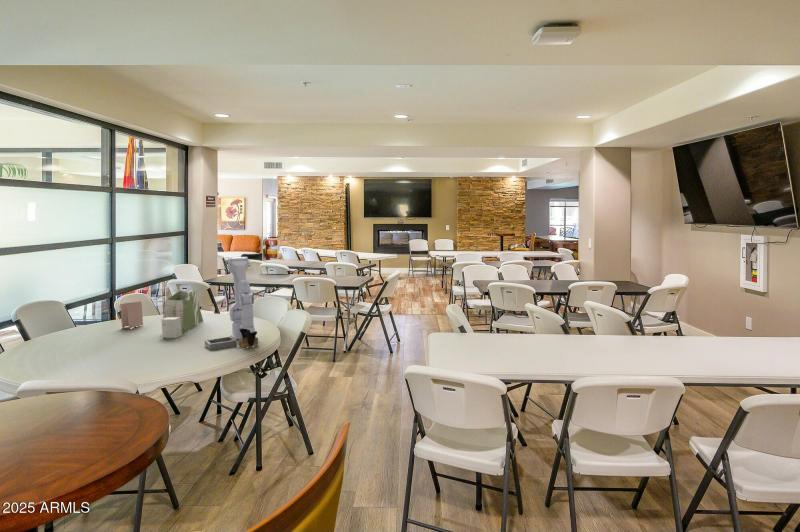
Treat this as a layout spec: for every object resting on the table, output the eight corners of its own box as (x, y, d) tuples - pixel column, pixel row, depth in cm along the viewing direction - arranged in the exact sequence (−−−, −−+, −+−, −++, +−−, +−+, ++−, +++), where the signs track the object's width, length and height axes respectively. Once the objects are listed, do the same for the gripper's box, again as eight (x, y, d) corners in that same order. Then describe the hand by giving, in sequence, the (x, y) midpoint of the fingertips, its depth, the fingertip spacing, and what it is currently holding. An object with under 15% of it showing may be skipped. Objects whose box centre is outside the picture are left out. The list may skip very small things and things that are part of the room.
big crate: (204, 346, 248) (204, 340, 248) (230, 341, 256) (230, 336, 255) (210, 350, 240) (209, 344, 240) (236, 345, 248) (236, 340, 247)
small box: (181, 335, 271) (180, 317, 270) (176, 338, 266) (175, 319, 265) (168, 335, 272) (167, 317, 271) (162, 338, 266) (161, 319, 265)
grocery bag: (187, 332, 278) (185, 292, 275) (162, 333, 276) (159, 293, 274) (204, 320, 309) (202, 284, 307) (181, 321, 308) (179, 285, 306)
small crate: (239, 347, 246) (238, 338, 245) (255, 344, 250) (254, 336, 250) (242, 349, 242) (241, 340, 241) (258, 346, 246) (257, 337, 246)
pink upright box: (142, 325, 299) (140, 301, 298) (146, 327, 294) (144, 302, 292) (121, 328, 291) (119, 303, 290) (125, 330, 286) (123, 305, 284)
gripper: (234, 315, 248) (236, 342, 249) (243, 320, 236) (245, 348, 238) (248, 314, 252) (249, 339, 254) (258, 318, 240) (259, 345, 242)
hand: (248, 343), depth 246 cm, fingers open, 7 cm apart
